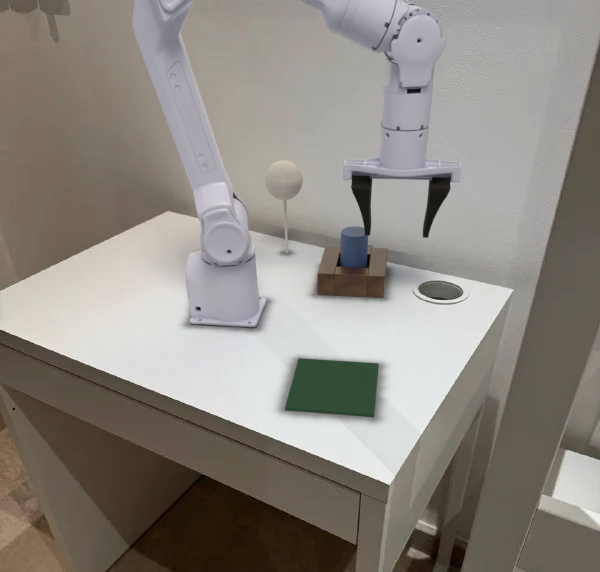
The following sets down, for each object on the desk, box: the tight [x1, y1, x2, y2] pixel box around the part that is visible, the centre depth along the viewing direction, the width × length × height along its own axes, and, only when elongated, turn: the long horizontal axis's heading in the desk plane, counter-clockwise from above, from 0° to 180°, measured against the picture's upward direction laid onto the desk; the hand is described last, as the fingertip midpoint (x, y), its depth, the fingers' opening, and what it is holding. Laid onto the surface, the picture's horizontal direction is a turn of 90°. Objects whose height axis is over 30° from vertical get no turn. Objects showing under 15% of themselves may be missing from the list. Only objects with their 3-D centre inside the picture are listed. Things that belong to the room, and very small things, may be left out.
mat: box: [284, 357, 380, 418], centre depth 70 cm, size 10×10×1 cm
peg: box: [340, 226, 369, 268], centre depth 89 cm, size 4×4×8 cm
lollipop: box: [264, 159, 304, 254], centre depth 96 cm, size 6×6×15 cm
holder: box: [316, 245, 389, 299], centre depth 90 cm, size 10×10×4 cm
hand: (396, 233), depth 80 cm, fingers open, 7 cm apart
